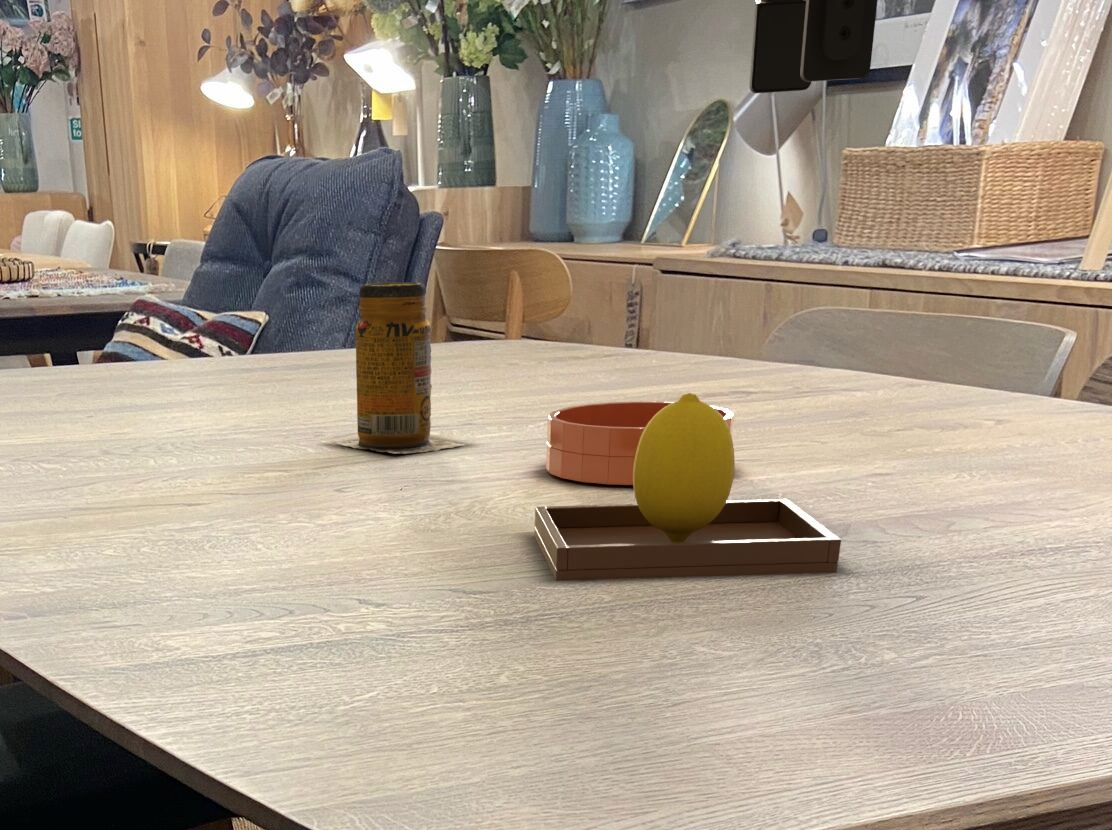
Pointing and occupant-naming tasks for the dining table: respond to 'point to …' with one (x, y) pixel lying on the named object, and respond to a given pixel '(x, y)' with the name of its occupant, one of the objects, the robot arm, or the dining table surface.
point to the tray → (715, 550)
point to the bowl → (601, 440)
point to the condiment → (394, 370)
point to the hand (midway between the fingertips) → (805, 85)
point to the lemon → (683, 467)
